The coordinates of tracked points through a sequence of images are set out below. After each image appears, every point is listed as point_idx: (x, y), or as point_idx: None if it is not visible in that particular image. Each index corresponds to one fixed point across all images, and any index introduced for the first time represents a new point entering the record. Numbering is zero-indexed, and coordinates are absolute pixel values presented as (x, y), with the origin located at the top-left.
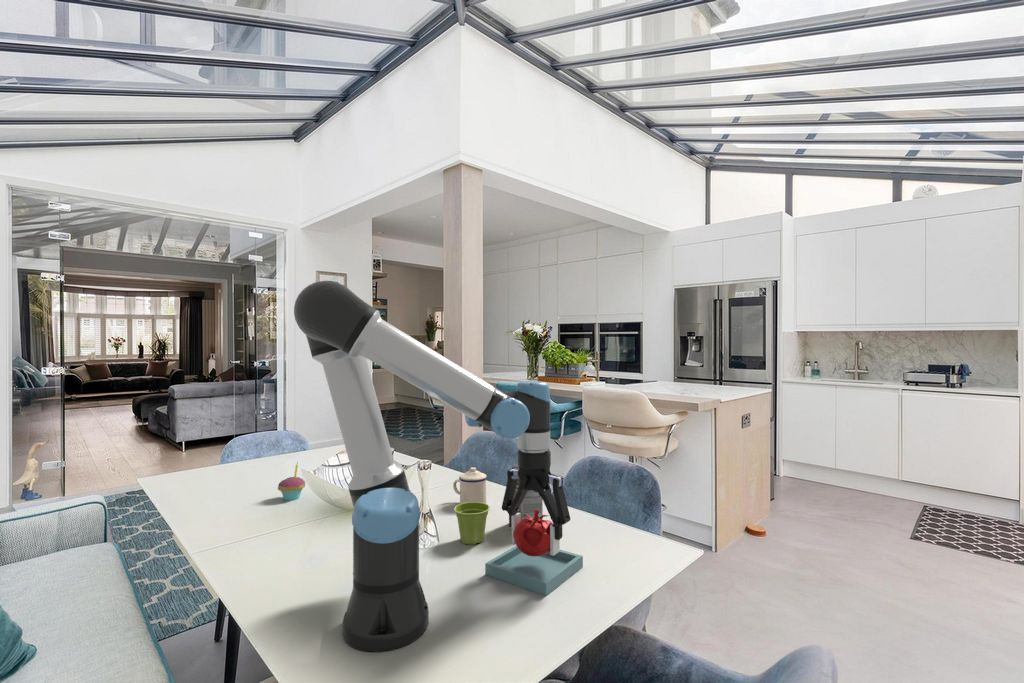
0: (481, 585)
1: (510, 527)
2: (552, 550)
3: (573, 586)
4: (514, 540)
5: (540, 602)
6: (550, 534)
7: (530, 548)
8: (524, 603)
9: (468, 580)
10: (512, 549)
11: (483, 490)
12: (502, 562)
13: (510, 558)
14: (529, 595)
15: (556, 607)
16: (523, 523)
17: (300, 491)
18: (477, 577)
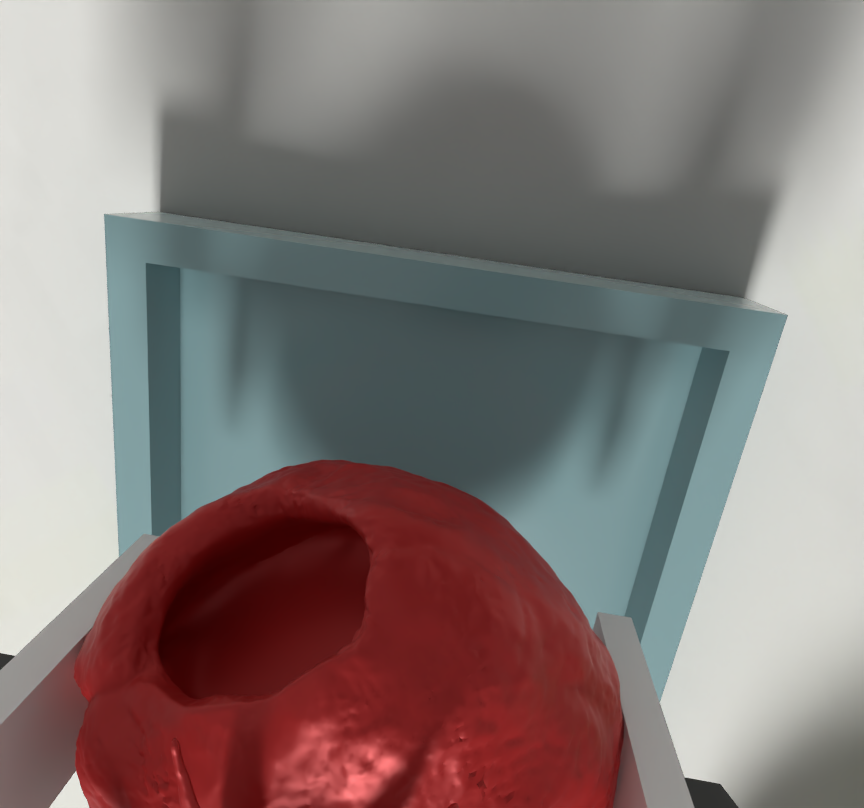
0: (697, 109)
1: (711, 787)
2: (124, 561)
3: (83, 420)
4: (604, 644)
5: (145, 99)
6: (30, 683)
7: (298, 476)
8: (235, 16)
9: (853, 133)
10: (652, 649)
11: None
12: (667, 480)
13: (638, 574)
14: (265, 156)
15: (17, 91)
16: (420, 786)
17: None
18: (792, 223)
